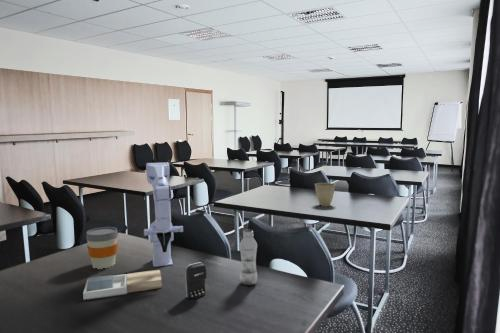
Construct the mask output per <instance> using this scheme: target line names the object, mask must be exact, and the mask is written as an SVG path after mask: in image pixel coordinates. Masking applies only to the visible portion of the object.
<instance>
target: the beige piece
mask: <svg viewBox="0 0 500 333" xmlns="http://www.w3.org/2000/svg"><path fill="white" fill-rule="evenodd" d="M162 285H163V284H162V275H161V270H160V269H154V270H146V271H138V272H132V273H131V272H130V273H127V294H128V293H133V292H134V293H135V292H141V291H147V290H148V291H149V290H154V289H161V288H162V287H163V286H162Z"/></svg>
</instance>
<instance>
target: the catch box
mask: <svg viewBox="0 0 500 333" xmlns="http://www.w3.org/2000/svg"><path fill="white" fill-rule="evenodd" d="M127 274H128V273H127ZM127 274H116V275H113V281H114V286H113V288H109V289H102V290H94V291H88V283H87V282H88V279H89V278H87V279H86V282H85V286H84V289H83V292H82V296H83V297H82V298H83V300H82V301H86V299H87V300H92V299H101V298H106V297H107V298H108V297H114V296H121V295H128V293H127Z"/></svg>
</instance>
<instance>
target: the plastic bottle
mask: <svg viewBox="0 0 500 333" xmlns="http://www.w3.org/2000/svg"><path fill="white" fill-rule="evenodd" d="M242 234H243V235H242V237H243V238H242V239H241V241H240V243H239V251H240V259H241V263H240V264H241V265H240V272H239V280H240V283H242V284H243V285H245V286H252V285H255V284H256V283H257V281H258V272H257V252H258V243H257V241H256V239H255V238H254V230H253V229H243V231H242Z"/></svg>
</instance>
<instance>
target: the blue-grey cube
mask: <svg viewBox="0 0 500 333" xmlns="http://www.w3.org/2000/svg"><path fill="white" fill-rule="evenodd" d="M113 276H114V274H110V275H102V276H101V279H100V289H101V290H102V289H109V288H113V286H114V281H113Z"/></svg>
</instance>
